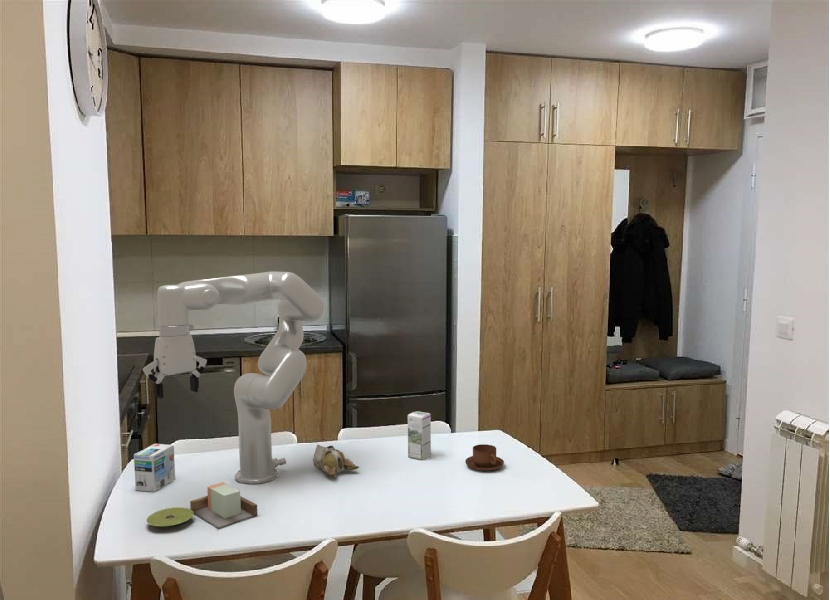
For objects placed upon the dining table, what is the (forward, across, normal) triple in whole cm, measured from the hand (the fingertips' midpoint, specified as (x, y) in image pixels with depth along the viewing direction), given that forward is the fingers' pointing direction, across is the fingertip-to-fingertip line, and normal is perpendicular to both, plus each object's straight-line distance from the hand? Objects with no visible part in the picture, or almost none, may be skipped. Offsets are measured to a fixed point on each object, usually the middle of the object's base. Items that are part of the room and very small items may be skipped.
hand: (177, 394), depth 176 cm
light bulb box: (+31, -1, -19) cm, 36 cm away
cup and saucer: (+31, -79, +41) cm, 95 cm away
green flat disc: (+31, +8, +10) cm, 33 cm away
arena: (+30, -4, +14) cm, 34 cm away
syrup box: (+31, -72, +20) cm, 81 cm away
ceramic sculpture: (+31, -43, +10) cm, 54 cm away
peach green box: (+30, -5, +14) cm, 33 cm away
